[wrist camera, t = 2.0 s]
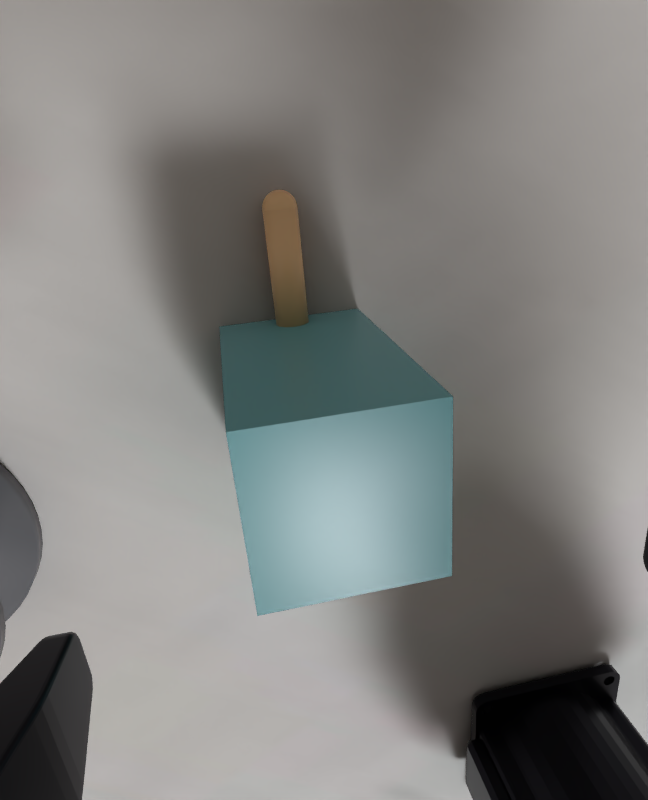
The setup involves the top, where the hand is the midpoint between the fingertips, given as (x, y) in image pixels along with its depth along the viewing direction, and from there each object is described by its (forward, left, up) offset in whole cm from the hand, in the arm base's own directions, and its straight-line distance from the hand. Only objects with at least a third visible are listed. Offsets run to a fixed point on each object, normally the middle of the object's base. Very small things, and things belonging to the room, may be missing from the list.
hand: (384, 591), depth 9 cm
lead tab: (0, -2, -9) cm, 9 cm away
